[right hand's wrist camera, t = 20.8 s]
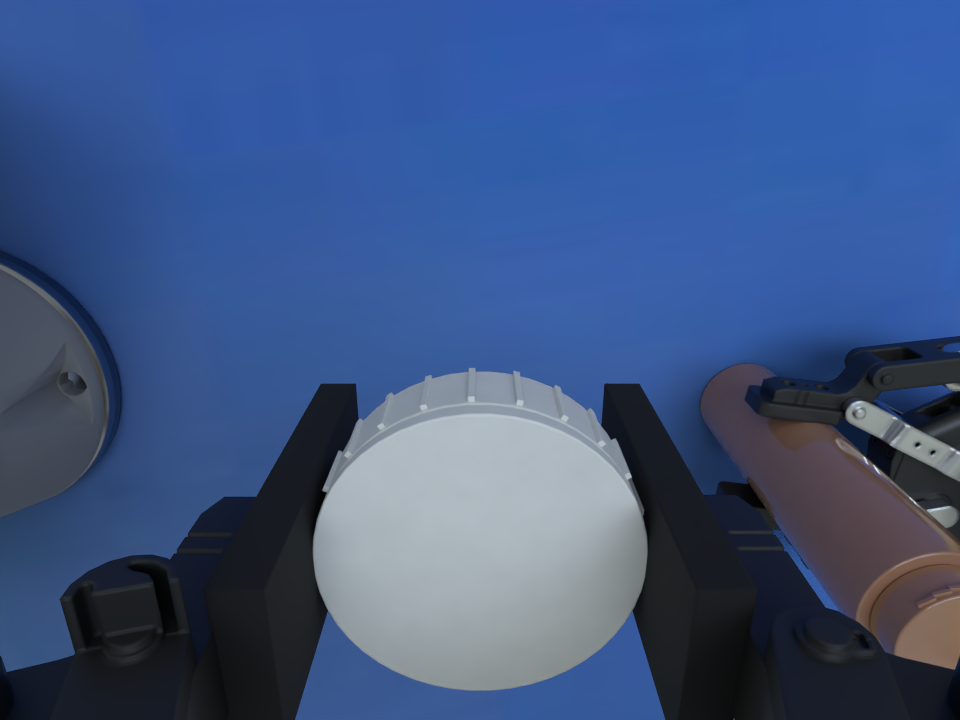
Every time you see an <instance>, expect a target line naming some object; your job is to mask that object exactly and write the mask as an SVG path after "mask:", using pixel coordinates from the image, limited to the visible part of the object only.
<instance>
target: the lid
mask: <svg viewBox="0 0 960 720" xmlns="http://www.w3.org/2000/svg"><path fill="white" fill-rule="evenodd" d="M631 478H632V476H631V474H630V471H629V469H628V466H627V464H626V461H625V459H624V456H623V454H622V452H621V449H620V447H619V444H618V442H617V440H616V439H613V440H611V439H610V438H609V436H608V434H607V433H606V432H605V430H604V429H603V428H602V427H601V425H600V424H599V423H598V421H597V418H596V416H595V413H594V411H593V410H592V409H591V408H589V409H588V410H587V411H586V410H585V409H584V408H583V407H582V406H581V405H579V404H578V403H577V402H575V401H574V400H572V399H571V398H570V397H568V396H567V395H565V394H563V393H562V391H561V388H560V387H559V386H557V385H555V386H554V388H552V387H550V386H548V385H545V384H542V383H540V382H537V381H534V380H532V379H528V378H524V377H520V372H516V371H514V372H513V375H512V374H505V373H497V372H475V368H469V372H463V373H456V374H448V375H444V376H440V377H436V378H432V376H431V375H429V376H426V377H425V381H423V382H421V383H418V384H416V385H413V386H411V387H408V388H407V389H405V390H403V391H401V392H399V393H398V394H396V395H393V393H392V392H391V393H389V394H388V395H387V396H386V399H385V402H384V403H383V404H381V405H380V406H379V407H377V408H376V409H375V410H374V411H373V412H372V413H371V414H370V415H369V416H368V417H367V418H366V419H365V420H364V421H363V420H362V419H359V420H358V421H357V423H356V425H355V428H354V430H353V433H352V435H351V438H350V440H349V442H348V444H347V445H346V447H345V449H344V451H343V452H342V451H338V453H337V456H336V458H335V461H334V463H333V465H332V468H331V470H330V473H329V475H328V478H327V480H326V482H325V485H324V487H323V490H322V491H324V492H326V493H327V494H326V496H325V499H324V501H323V504H322V507H321V509H320V512H319V515H318V517H317V520H316V525H315V530H314V535H313V561H314V570H315V578H316V581H317V585H318V588H319V592H320V594H321V596H322V599H323V601H324V603H325V605H326V608H327V609H328V611H329V613H330V614H331V616H332V617H333V619H334V620H335V622H336V624H337V625H338V626H339V627H340V629H341V630H342V631H343V632H344V633H345V634H346V636H347V637H348V638H349V639H350V640H351V641H352V642H353V643H354V644H356V645H357V646H358V647H359V648H360V649H361V650H362V651H363V652H365V653H366V654H367V655H369V656H370V657H372V658H373V659H374V660H376V661H377V662H379V663H381V664H382V665H384V666H386V667H388V668H390V669H391V670H393V671H395V672H397V673H400V674H402V675H404V676H407V677H409V678H412V679H414V680H418V681H421V682H424V683H427V684H431V685H435V686H440V687H445V688H451V689H460V690H471V691H477V690H500V689H510V688H515V687H520V686H525V685H530V684H533V683H536V682H540V681H543V680H546V679H549V678H552V677H554V676H556V675H558V674H561V673H563V672H565V671H568V670H569V669H571V668H573V667H575V666H576V665H578V664H580V663H582V662H583V661H585V660H586V659H588V658H589V657H590V656H592V655H593V654H594V653H596V652H597V651H598V650H600V649H601V648H602V647H603V646H604V645H605V644H606V643H607V642H608V641H609V640H610V639H611V638H612V637H613V636H614V635H615V634H616V633H617V632H618V630H619V629H620V628H621V627H622V625H623V624H624V623H625V621H626V620H627V618H628V617H629V615H630V613H631V612H632V610H633V608H634V607H635V604H636V602H637V600H638V597H639V595H640V593H641V591H642V587H643V583H644V579H645V574H646V565H647V556H648V540H647V532H646V528H645V523H644V519H643V515H644V508H643V506H642V503H641V501H640V498H639V496H638V493H637V491H636V488H635V486H634V483H633V481H632V479H631Z"/></svg>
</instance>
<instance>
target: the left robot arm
mask: <svg viewBox="0 0 960 720" xmlns="http://www.w3.org/2000/svg"><path fill="white" fill-rule="evenodd" d="M845 365H846V368H845V369H844V370H843V372H842V373H841V374H840V375H839V376H838V377H837V378H836V379H834V380H832V381H829V382H816V381H808V380H800V379H791V378H783V377H771V378H766V379H763V382H762V385H761V386H758V385H749V386H748V389H747V392H746V396H745V399H744V400H745V401H746V402H747V404H748V405H749V406H750V407H751V408H752V409H753V410H754V411H755V412H756V413H757V414H759V415H761V416H764V417H768V418H776V419H784V420H793V421H801V422H810V423H820V424H827V425H836V426H838V423H839V421H840V419H844V420H847V421H848V422H849V423H850V424H852V425H854V426H856V427H858V428H860V429H862V430H864V431H866V432H868V433H870V434H871V436H870V439H869V442H868V450H867V457H868V458H869V459H870V460H871V461H872V462H873V463H874V464H876V465H877V466H878V467H879V468H880V469H881V470H882V471H883V472H884V473H886V474H887V475H888V476H889V477H890V478H891V479H892V480H893V481H894V482H895V483H897V484H898V485H899V486H900V487H901V488H902V489H903V490H904V491H905V492H907V493H908V494H909V495H910V496H911V497H912V498H913V499H914V500H915V501H917V502H918V503H919V504H920V505H921V506H922V507H923V508H924V509H925V510H927V511H928V512H929V513H930V514H931V515H932V516H933V517H934V518H935V519H936V520H938V521H939V522H940V523H941V524H942V525H943V526H944V527H945V528H946V529H948V530H949V531H950V532H951V533H952V534H953V535H954V536H955V537H956V538H958V539H959V540H960V336H956V337H948V338H939V339H930V340H921V341H913V342H904V343H895V344H886V345H878V346H869V347H860V348H855V349H853V350H851V351H850V352H849V353H848V354H847V356H846V358H845ZM935 385H943V386H944V387H946V388H948V389H949V390H952V391H954V392H952V393H949V394H947V395H945V396H942V397H940V398H938V399H936V400H933V401H931V402H929V403H926V404H924V405H922V406H920V407H917V408H915V409H913V410H911V411H908V412H906V413H903V412H901V411H899V410H897V409H895V408H893V407H891V406H889V405H887V404H885V403H883V402H881V401H879V400H877V399H876V398H877V396H878V395H879V394H880V393H881V392H882V391H890V390H899V389H908V388H917V387H926V386H935ZM716 495H737V496H738V497H740V498H741V499H743V500H744V501H745V502H747V503H748V504H749V505H751V506H752V507H754V508H755V509H756V510H758V511H759V512H760V513H761V515H762V516H763V518H764V519H765V521H766V522H767V523H768V525H769V526H770V528H771V529H774V530H781V529H780V528H779V526H778V525H777V523H776V522H775V521H774V519H773V518H772V516H771V515H770V514H769V512H768V511H767V509H766V508H765V507H764V505H763V504H762V502H761V501H760V500H759V498H758V497H757V495H756V494H755V493H754V491H753V490H752V488H751V487H750V486H749V484H742V483H733V482H720V483H719V485H718V488H717V492H716ZM784 537H785V538H786V540H787V541H788V543H789V544H790V545H792V544H791V543H790V542H789V540H788V539H787V537H786V536H785V535H784ZM792 547H793V546H792ZM793 548H794V547H793ZM795 551H796V550H795ZM796 552H797V551H796ZM797 554H798V553H797ZM798 555H799V554H798ZM800 558H801V557H800ZM801 561H802V562H803V564H804V565H805V566H806V568H807V569H809V568H808V567H807V565H806V564H805V563H804V561H803V560H802V558H801Z"/></svg>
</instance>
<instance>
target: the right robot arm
mask: <svg viewBox="0 0 960 720" xmlns="http://www.w3.org/2000/svg"><path fill="white" fill-rule="evenodd" d="M120 408H121V390H120V383H119V377H118V373H117V369H116V365H115V362H114V359H113V356H112V354H111V351H110V349H109V347H108V345H107V343H106V341H105V339H104V337H103V335H102V334H101V332H100V330H99V329H98V327H97V326H96V324H95V323H94V321H93V320H92V319H91V317H90V316H89V315H88V313H87V312H86V311H85V310H84V309H83V307H82V306H81V305H80V304H79V303H78V302H77V301H76V300H75V299H74V298H73V297H72V296H71V295H70V294H69V293H68V292H67V291H66V290H65V289H64V288H62V287H61V286H60V285H59V284H58V283H56V282H55V281H54V280H52V279H51V278H50V277H48V276H47V275H46V274H44V273H43V272H41V271H39V270H38V269H36V268H35V267H33V266H31V265H29V264H28V263H26V262H24V261H22V260H20V259H18V258H16V257H13V256H11V255H9V254H6V253H4V252H1V251H0V518H1V517H3V516H6V515H9V514H11V513H14V512H16V511H19V510H22V509H24V508H27V507H29V506H32V505H34V504H37V503H39V502H42V501H44V500H46V499H49V498H51V497H53V496H55V495H57V494H59V493H61V492H62V491H64V490H66V489H67V488H68V487H70V486H71V485H72V484H74V483H75V482H76V481H77V480H78V479H79V478H80V477H81V476H82V475H83V474H84V473H86V472H87V471H88V470H89V469H90V468H91V467H92V466H93V465H94V464H95V463H96V462H97V461H98V460H99V459H100V458H101V456H102V455H103V454H104V453H105V451H106V450H107V448H108V446H109V445H110V443H111V441H112V439H113V437H114V434H115V431H116V428H117V425H118V421H119V416H120ZM357 421H358V407H357V393H356V384H321V385H320V387H319V388H318V390H317V392H316V394H315V395H314V397H313V399H312V401H311V402H310V404H309V406H308V408H307V409H306V411H305V413H304V415H303V416H302V418H301V420H300V421H299V423H298V425H297V427H296V428H295V430H294V432H293V434H292V435H291V437H290V439H289V441H288V442H287V444H286V446H285V448H284V449H283V451H282V453H281V455H280V456H279V458H278V460H277V462H276V463H275V465H274V467H273V469H272V470H271V472H270V474H269V476H268V477H267V479H266V481H265V483H264V484H263V486H262V488H261V490H260V491H259V493H258V495H257V497H224V498H222V499H221V500H220V501H218V502H217V503H215V504H214V505H213V506H211V507H210V508H209V509H207V510H206V511H204V512H203V513H202V514H201V515H200V517H199V518H198V519H197V521H196V522H195V524H194V525H193V527H192V528H191V530H190V531H189V533H188V537H185V538H184V540H183V541H182V543H181V544H180V546H179V547H178V549H177V553H176V554H174V555H173V556H172V558H171V559H170V560H169V559H168V558H164V557H160V556H155V555H135V556H128V557H125V558H121V559H117V560H113V561H109V562H107V563H105V564H103V565H101V566H99V567H96V568H94V569H92V570H90V571H88V572H87V573H85V574H84V575H83V576H81V577H80V578H79V579H77V580H76V581H75V582H73V583H72V584H71V585H70V586H69V587H68V589H67V590H66V591H65V593H64V594H63V596H62V597H61V598H60V601H61V605H62V608H63V612H64V615H65V619H66V622H67V626H68V629H69V633H70V636H71V640H72V643H73V647H74V650H75V654H74V655H73V656H70V657H67V658H63V659H60V660H57V661H52V662H48V663H44V664H40V665H35V666H31V667H27V668H23V669H18V670H14V671H10V672H6V669H5V666H4V663H3V660H2V658H1V656H0V720H295V718H296V714H297V711H298V708H299V704H300V701H301V698H302V694H303V691H304V688H305V684H306V681H307V678H308V675H309V671H310V668H311V665H312V661H313V658H314V655H315V651H316V648H317V645H318V641H319V638H320V635H321V631H322V628H323V625H324V621H325V618H326V615H327V612H328V609H327V608H326V605H325V603H324V601H323V599H322V596H321V594H320V592H319V588H318V585H317V581H316V578H315V570H314V561H313V535H314V530H315V525H316V520H317V517H318V515H319V512H320V509H321V507H322V504H323V501H324V499H325V496H326V494H327V493H326V492H324V491H322V490H323V487H324V485H325V482H326V480H327V478H328V475H329V473H330V470H331V468H332V465H333V463H334V461H335V458H336V456H337V453H338V451H342V452H343V451H344V449H345V447H346V445H347V444H348V442H349V440H350V438H351V435H352V433H353V430H354V428H355V425H356V423H357ZM601 427H602V428H603V429H604V430H605V432H606V433H607V434H608V436H609V438H610V439H611V440H613V439H616V440H617V442H618V444H619V447H620V449H621V452H622V454H623V456H624V459H625V461H626V464H627V466H628V469H629V471H630V474H631V476H632V478H631V479H632V481H633V483H634V486H635V488H636V491H637V493H638V496H639V498H640V501H641V503H642V506H643V508H644V515H643V519H644V523H645V528H646V532H647V540H648V556H647V565H646V574H645V579H644V583H643V587H642V591H641V593H640V595H639V597H638V600H637V602H636V604H635V607H634V608H633V614H634V617H635V620H636V623H637V627H638V630H639V633H640V637H641V640H642V643H643V647H644V650H645V653H646V657H647V660H648V663H649V667H650V670H651V673H652V677H653V680H654V683H655V686H656V690H657V693H658V696H659V700H660V703H661V706H662V710H663V713H664V716H665V720H733V719H735V720H960V656H959V659H958V662H957V665H956V668H955V670H954V669H949V668H945V667H941V666H937V665H932V664H928V663H924V662H919V661H915V660H911V659H907V658H903V657H899V656H896V655H893V654H890V653H886V652H885V651H884V649H883V648H882V646H881V645H880V643H879V642H878V640H877V638H876V637H875V636H874V635H873V634H872V633H871V632H870V631H868V630H867V629H866V628H865V627H864V626H863V625H861V624H860V623H859V622H857V621H855V620H854V619H852V618H850V617H848V616H846V615H844V614H842V613H840V612H838V611H835V610H832V609H828V608H825V606H824V605H823V603H822V602H821V600H820V599H819V598H818V596H817V595H816V593H815V592H814V590H813V589H812V587H811V586H810V585H809V583H808V582H807V580H806V579H805V577H804V576H803V574H802V573H801V571H800V570H799V569H798V567H797V566H796V564H795V563H794V561H793V560H792V558H791V557H790V555H789V554H788V553H787V552H785V551H784V547H783V545H782V544H781V542H780V541H779V539H778V538H777V537H776V535H773V531H772V529H771V528H770V526H769V525H768V523H767V522H766V521H765V519H764V518H763V516H762V515H761V513H760V512H759V511H758V510H756V509H755V508H754V507H752V506H751V505H749V504H748V503H747V502H745V501H744V500H743V499H741V498H740V497H738V496H737V495H703V494H702V492H701V491H700V489H699V487H698V485H697V484H696V482H695V480H694V478H693V477H692V475H691V473H690V471H689V470H688V468H687V466H686V464H685V463H684V461H683V459H682V457H681V456H680V454H679V452H678V450H677V449H676V447H675V445H674V443H673V442H672V440H671V438H670V436H669V435H668V433H667V431H666V429H665V428H664V426H663V424H662V423H661V421H660V419H659V417H658V416H657V414H656V412H655V410H654V409H653V407H652V405H651V403H650V402H649V400H648V398H647V396H646V395H645V393H644V391H643V389H642V388H641V386H640V384H605V385H604V399H603V412H602V426H601Z"/></svg>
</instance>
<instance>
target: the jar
mask: <svg viewBox="0 0 960 720" xmlns="http://www.w3.org/2000/svg"><path fill="white" fill-rule="evenodd" d="M771 377H778V376H777V375H776V374H775V373H774V372H772V371H771V370H770V369H768V368H766V367H764V366H761V365H758V364H739V365H734V366H731V367H729V368H727V369H725V370H723V371H721V372H720V373H718V374H717V375H716V376H715V377H714V378H713V379H712V380H711V381H710V382H709V383H708V385H707V386H706V388H705V390H704V392H703V395H702V398H701V403H700V409H701V415H702V418H703V420H704V422H705V424H706V425H707V427H708V428H709V430H710V431H711V432H712V434H713V435H714V437H715V438H716V439H717V441H718V442H719V444H720V445H721V446H722V448H723V449H724V451H725V452H726V453H727V455H728V456H729V458H730V459H731V460H732V462H733V463H734V465H735V466H736V467H737V469H738V470H739V472H740V473H741V474H742V476H743V477H744V479H745V480H746V481H747V483H748V484H749V486H750V487H751V488H752V490H753V491H754V493H755V494H756V495H757V497H758V498H759V500H760V501H761V502H762V504H763V505H764V507H765V508H766V509H767V511H768V512H769V514H770V515H771V516H772V518H773V519H774V521H775V522H776V523H777V525H778V526H779V528H780V529H781V530H782V532H783V533H784V535H785V536H786V537H787V539H788V540H789V542H790V543H791V544H792V546H793V547H794V549H795V550H796V551H797V553H798V554H799V556H800V557H801V558H802V560H803V561H804V563H805V564H806V565H807V567H808V568H809V570H810V571H811V572H812V574H813V575H814V577H815V578H816V579H817V581H818V582H819V584H820V585H821V586H822V588H823V589H824V591H825V592H826V593H827V595H828V596H829V598H830V599H831V600H832V602H833V603H834V605H835V606H836V607H837V609H838V610H839V612H840V613H842V614H844V615H846V616H848V617H850V618H852V619H854V620H855V621H857V622H859V623H860V624H861V625H863V626H864V627H865V628H866V629H867V630H868V631H870V632H871V633H872V634H873V635H874V636H875V637H876V638H877V640H878V642H879V643H880V645H881V646H882V648H883V649H884V651H885V652H886V653H890V654H893V655H896V656H899V657H903V658H907V659H911V660H915V661H919V662H924V663H928V664H932V665H937V666H941V667H945V668H949V669H954V670H955V668H956V665H957V662H958V659H959V656H960V540H959V539H958V538H956V537H955V536H954V535H953V534H952V533H951V532H950V531H949V530H948V529H946V528H945V527H944V526H943V525H942V524H941V523H940V522H939V521H938V520H936V519H935V518H934V517H933V516H932V515H931V514H930V513H929V512H928V511H927V510H925V509H924V508H923V507H922V506H921V505H920V504H919V503H918V502H917V501H915V500H914V499H913V498H912V497H911V496H910V495H909V494H908V493H907V492H905V491H904V490H903V489H902V488H901V487H900V486H899V485H898V484H897V483H895V482H894V481H893V480H892V479H891V478H890V477H889V476H888V475H887V474H886V473H884V472H883V471H882V470H881V469H880V468H879V467H878V466H877V465H876V464H874V463H873V462H872V461H871V460H870V459H869V458H868V457H867V456H866V455H864V454H863V453H862V452H861V451H860V450H859V449H858V448H857V447H856V446H854V445H853V444H852V443H851V442H850V441H849V440H848V439H847V438H846V437H845V436H843V435H842V434H841V433H840V432H839V431H838V430H837V429H836V428H835V427H833V426H832V425H827V424H820V423H810V422H801V421H793V420H784V419H776V418H768V417H764V416H761V415H759V414H757V413H756V412H755V411H754V410H753V409H752V408H751V407H750V406H749V405H748V404H747V402H746V401H745V400H744V399H745V396H746V392H747V389H748V386H749V385H758V386H761V385H762V382H763V379H766V378H771Z"/></svg>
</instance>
